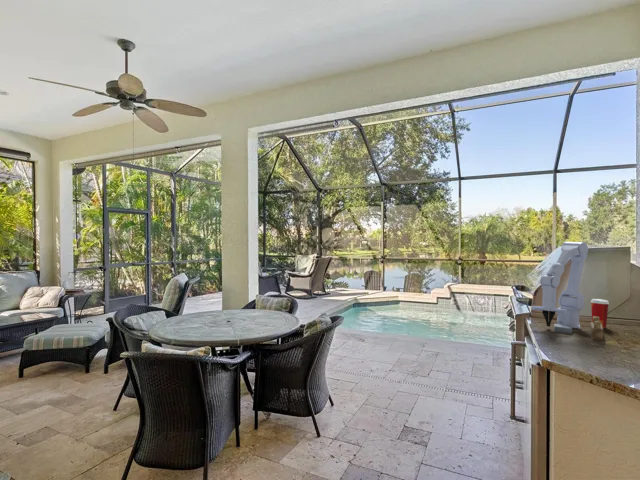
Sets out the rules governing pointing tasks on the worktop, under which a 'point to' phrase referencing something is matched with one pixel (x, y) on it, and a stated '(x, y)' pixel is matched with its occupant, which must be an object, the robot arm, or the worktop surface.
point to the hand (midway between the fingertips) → (548, 326)
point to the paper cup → (600, 310)
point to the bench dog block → (596, 329)
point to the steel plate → (563, 328)
